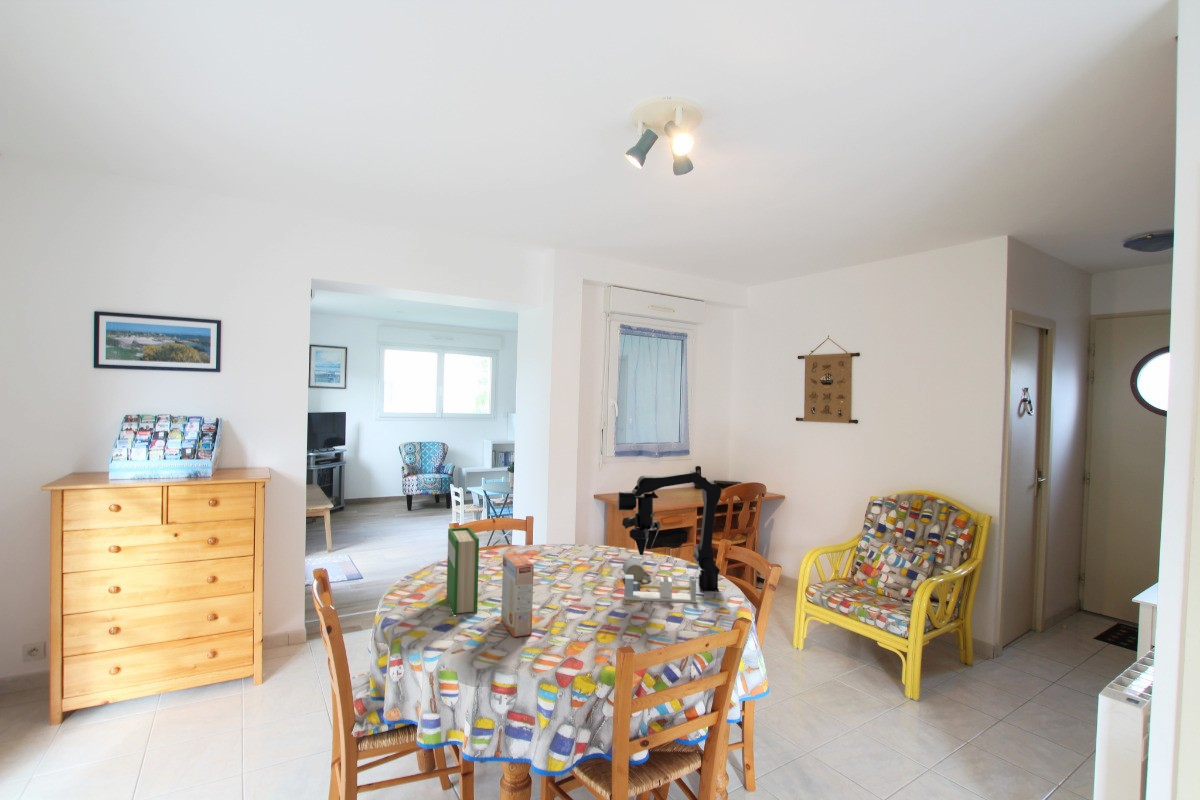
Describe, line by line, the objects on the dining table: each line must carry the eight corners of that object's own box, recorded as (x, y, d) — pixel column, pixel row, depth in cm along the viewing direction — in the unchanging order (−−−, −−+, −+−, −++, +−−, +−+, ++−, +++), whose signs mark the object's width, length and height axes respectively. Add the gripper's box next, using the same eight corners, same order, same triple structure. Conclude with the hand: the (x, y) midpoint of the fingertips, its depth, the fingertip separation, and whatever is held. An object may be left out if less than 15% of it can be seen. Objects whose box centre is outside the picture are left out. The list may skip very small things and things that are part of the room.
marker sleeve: (670, 592, 194) (670, 577, 194) (671, 597, 189) (672, 581, 189) (659, 592, 195) (659, 576, 195) (660, 596, 190) (660, 581, 190)
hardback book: (477, 613, 174) (479, 538, 174) (453, 616, 171) (455, 540, 171) (468, 595, 190) (469, 527, 191) (446, 597, 187) (448, 528, 188)
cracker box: (533, 635, 158) (534, 563, 159) (513, 638, 156) (514, 566, 156) (519, 617, 171) (520, 551, 171) (500, 620, 169) (502, 553, 169)
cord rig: (694, 595, 195) (694, 574, 195) (696, 602, 188) (696, 581, 188) (624, 592, 196) (625, 572, 196) (624, 599, 189) (624, 578, 189)
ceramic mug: (626, 583, 206) (626, 563, 206) (622, 576, 214) (623, 557, 215) (653, 583, 208) (653, 563, 208) (648, 576, 216) (649, 557, 216)
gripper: (633, 504, 214) (633, 543, 214) (616, 512, 197) (616, 555, 196) (660, 506, 209) (660, 546, 209) (645, 515, 192) (645, 559, 192)
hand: (645, 551), depth 202 cm, fingers open, 9 cm apart
